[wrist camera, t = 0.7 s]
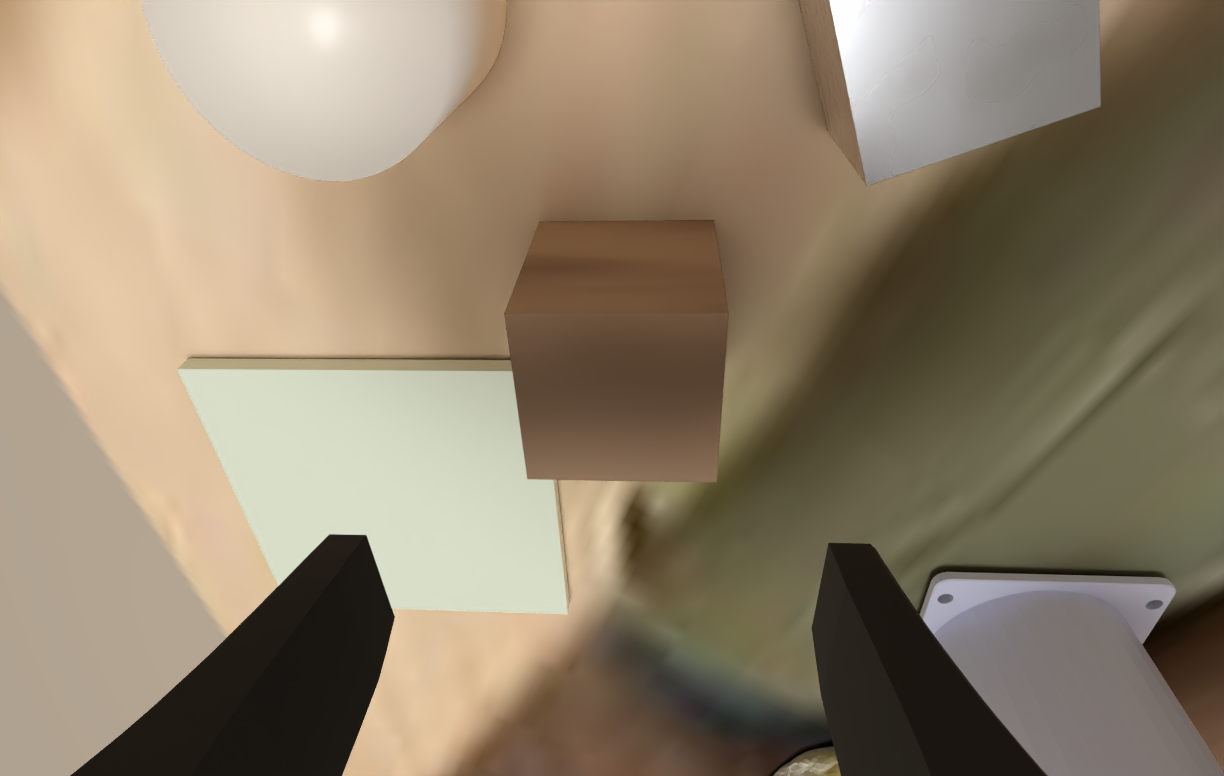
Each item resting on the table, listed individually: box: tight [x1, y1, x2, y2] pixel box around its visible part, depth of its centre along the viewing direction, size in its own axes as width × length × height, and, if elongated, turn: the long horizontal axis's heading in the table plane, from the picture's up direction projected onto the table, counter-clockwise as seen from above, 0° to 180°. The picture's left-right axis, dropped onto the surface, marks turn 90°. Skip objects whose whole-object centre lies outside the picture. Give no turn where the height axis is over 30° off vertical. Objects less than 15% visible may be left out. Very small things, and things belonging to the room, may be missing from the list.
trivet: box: [177, 358, 570, 614], centre depth 24 cm, size 11×11×1 cm
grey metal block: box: [799, 0, 1101, 186], centre depth 13 cm, size 4×4×4 cm
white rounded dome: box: [141, 0, 507, 181], centre depth 13 cm, size 5×5×5 cm
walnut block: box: [504, 220, 728, 482], centre depth 17 cm, size 4×4×5 cm
